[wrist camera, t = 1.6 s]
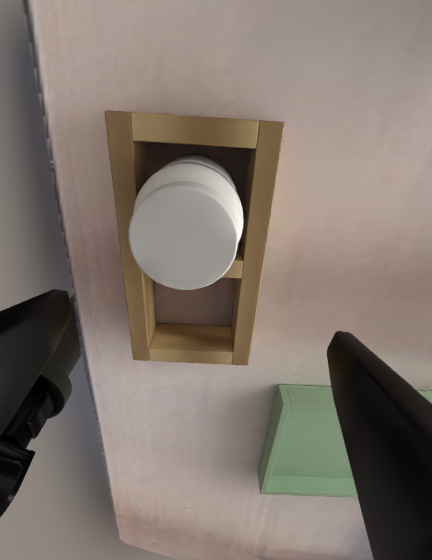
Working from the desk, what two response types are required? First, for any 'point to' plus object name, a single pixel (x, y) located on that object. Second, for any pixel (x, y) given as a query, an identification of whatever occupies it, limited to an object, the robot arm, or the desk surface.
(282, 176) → the desk surface
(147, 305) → the rack
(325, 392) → the tray
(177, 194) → the pill bottle
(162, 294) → the desk surface
